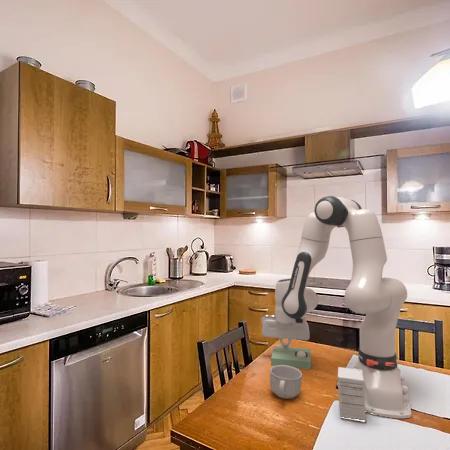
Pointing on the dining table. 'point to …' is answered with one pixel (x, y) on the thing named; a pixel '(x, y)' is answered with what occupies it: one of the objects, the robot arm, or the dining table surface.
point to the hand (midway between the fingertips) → (285, 348)
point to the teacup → (285, 381)
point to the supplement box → (351, 393)
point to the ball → (301, 354)
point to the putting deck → (291, 357)
